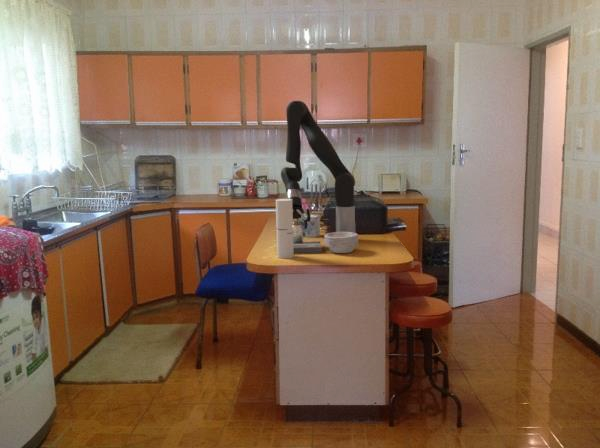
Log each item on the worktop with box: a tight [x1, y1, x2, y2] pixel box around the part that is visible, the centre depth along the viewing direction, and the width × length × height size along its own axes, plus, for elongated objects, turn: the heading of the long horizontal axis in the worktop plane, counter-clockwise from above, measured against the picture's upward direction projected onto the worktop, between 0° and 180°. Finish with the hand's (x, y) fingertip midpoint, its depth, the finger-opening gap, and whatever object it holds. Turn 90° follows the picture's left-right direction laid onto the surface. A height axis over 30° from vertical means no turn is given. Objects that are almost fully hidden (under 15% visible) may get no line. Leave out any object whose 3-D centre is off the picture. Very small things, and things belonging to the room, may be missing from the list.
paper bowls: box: [323, 231, 359, 254], centre depth 246 cm, size 15×15×8 cm
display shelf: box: [293, 240, 323, 254], centre depth 251 cm, size 17×13×4 cm
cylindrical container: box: [275, 198, 295, 259], centre depth 237 cm, size 7×7×25 cm
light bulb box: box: [296, 213, 321, 238], centre depth 283 cm, size 11×7×11 cm, turn 68°
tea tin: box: [293, 220, 304, 244], centre depth 253 cm, size 6×6×10 cm
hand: (296, 228), depth 253 cm, fingers open, 8 cm apart
